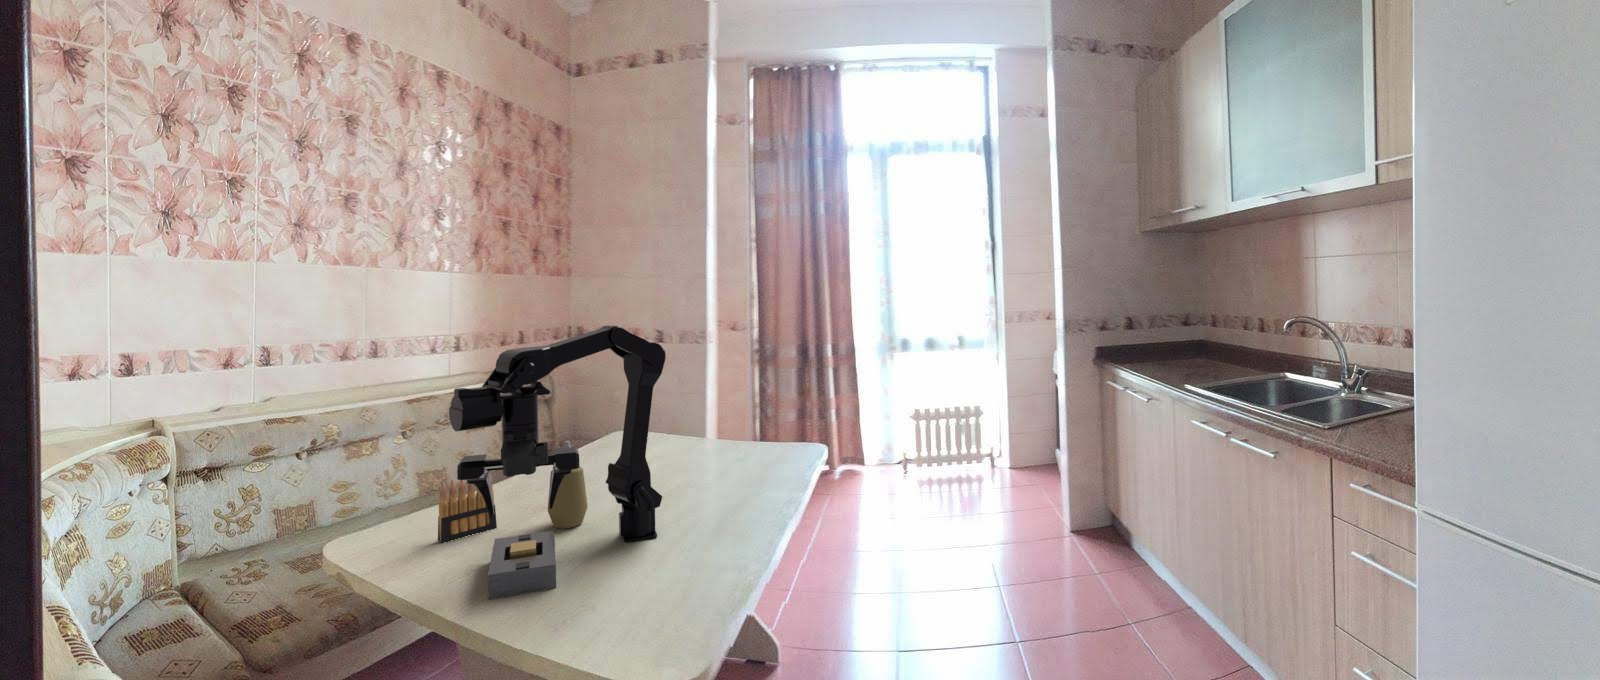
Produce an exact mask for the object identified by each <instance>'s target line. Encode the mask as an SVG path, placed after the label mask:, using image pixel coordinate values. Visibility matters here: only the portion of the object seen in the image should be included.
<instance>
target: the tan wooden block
mask: <svg viewBox="0 0 1600 680" xmlns="http://www.w3.org/2000/svg"><path fill="white" fill-rule="evenodd" d="M530 556H537V552H536V540H533V541H526V542H518V543H511V549H510V560H511V559H517V558H524V557H530Z"/></svg>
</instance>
